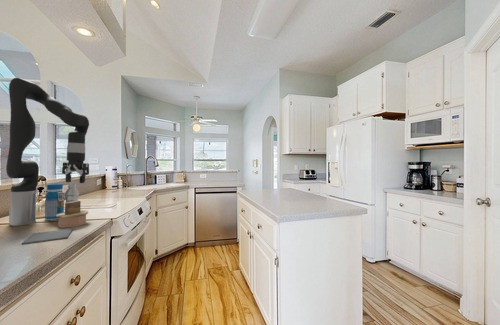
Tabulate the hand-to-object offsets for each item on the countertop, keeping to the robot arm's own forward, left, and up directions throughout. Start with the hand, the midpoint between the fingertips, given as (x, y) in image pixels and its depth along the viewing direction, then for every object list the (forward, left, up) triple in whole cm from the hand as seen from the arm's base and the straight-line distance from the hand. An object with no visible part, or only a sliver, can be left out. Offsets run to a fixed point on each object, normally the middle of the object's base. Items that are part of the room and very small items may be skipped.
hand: (75, 182), depth 114 cm
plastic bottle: (-12, +11, -22) cm, 28 cm away
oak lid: (-1, 0, -17) cm, 17 cm away
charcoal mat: (+6, -18, -22) cm, 29 cm away
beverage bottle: (-21, +9, -22) cm, 32 cm away
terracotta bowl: (-1, 0, -22) cm, 22 cm away
